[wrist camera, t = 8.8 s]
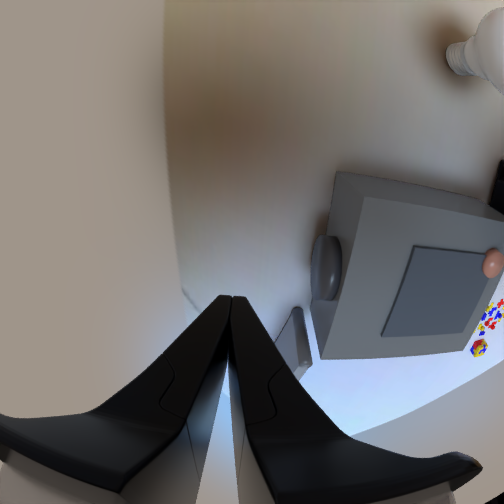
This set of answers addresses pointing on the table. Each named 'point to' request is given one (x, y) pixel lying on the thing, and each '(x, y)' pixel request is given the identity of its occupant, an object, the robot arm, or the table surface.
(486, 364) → the table surface
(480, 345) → the building blocks
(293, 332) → the side door
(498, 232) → the camera box
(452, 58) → the lightbulb
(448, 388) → the table surface
